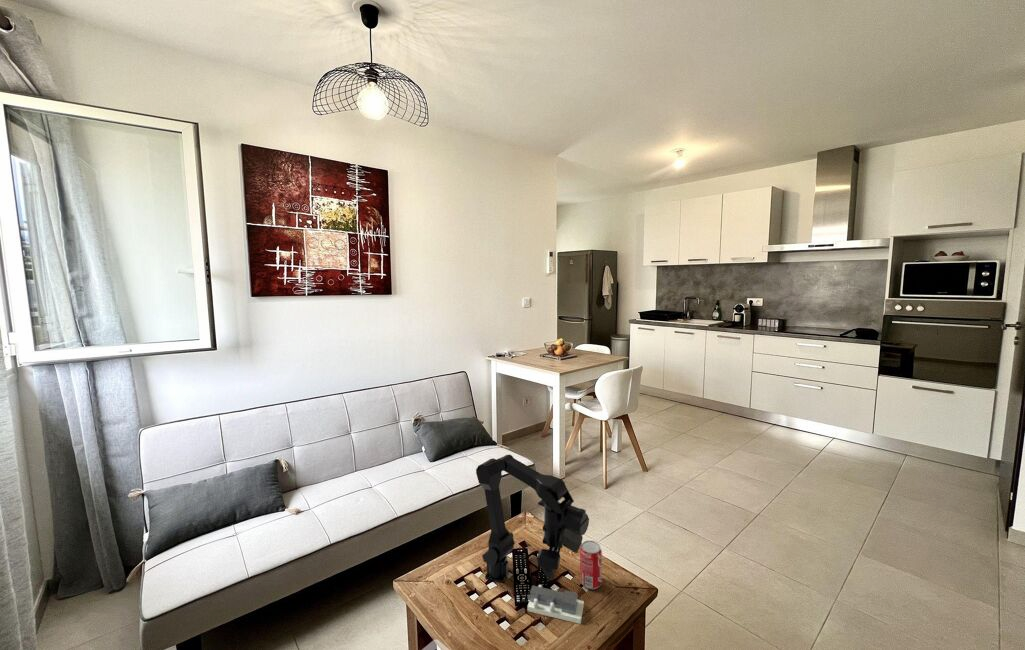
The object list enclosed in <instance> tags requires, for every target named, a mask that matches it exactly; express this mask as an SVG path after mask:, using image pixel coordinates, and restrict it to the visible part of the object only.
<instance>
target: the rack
mask: <svg viewBox="0 0 1025 650" xmlns="http://www.w3.org/2000/svg"><path fill="white" fill-rule="evenodd" d="M538 587H542V588H543V585H542V584H538ZM553 590H555V591H559V589H558V587H557V588H556V587H555V588H553ZM528 601H529V602H528V604H527V606H526V607H527V612H530V613H535V614H538V615H541V616H546V617H551V618H554V619H559V620H562V621H566V622H567V621H568V622H572V623H575V624H579V625H581V623H582V617H583V611H584V606H585V605H584V603H585V601H584V600H580V599H578V603H577V608H576V613H575V615H574V614H569V613H565V612H562V609H560V608H556V607H554V603H553V602H551V603H550V606H547V605H543V604H538V599H536V598H535V599H534V602H530V600H528Z"/></svg>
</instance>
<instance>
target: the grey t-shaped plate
mask: <svg viewBox="0 0 1025 650" xmlns="http://www.w3.org/2000/svg"><path fill="white" fill-rule="evenodd" d="M563 591H564V592H563ZM563 591H560V590H558V591H555V590H554V589H550V588H545V587H543V586H542V587H539V586H537V585H531V588H530V590H529V601H530V602H534V599H535V598H536V599H538V604H543V605H547V606H550V603H551V602H553V603H554V607H556V608H560V609H562V612H565V613H569V614H574V615H575V613H576V608H577V603H578V600H579V599H578V597H579V596H578V595H579V593H578V592H575V591H571V590H570V591H569V590H566V589H564V590H563Z"/></svg>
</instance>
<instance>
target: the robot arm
mask: <svg viewBox="0 0 1025 650" xmlns="http://www.w3.org/2000/svg"><path fill="white" fill-rule="evenodd" d="M502 472H505V473H507V474H509V475H510V476H512V477H513V478H515V479H517V480H519V482H522V483H524V484H525V485H527V486H528V487H530V488H531V489H532V490H534V491H535V493H536V495H537V496H538V498H540V499H541V500H539V501H538V502H537V505H538V506H541V507H543V508H544V510H543V512H544V516H543V517H544V518H543V520H544V522H543V526H542V531H543V532H544V533H543V539H542V544H544V545H546V546H547V547H548V549H545V548H541V549H540V550H539V551H538V554H537V556H536V565H537V566H538V567H540V568H541V569H542V571H543V572H544V574H545V576H546V578H547V580H548V581H553V577H554V572H555V570H558V569H559V566H560V562H561V554H560V553H561V550H562V549H563V547H565V548H566V549H568V550H570V551H571V552H573V554H574V553H575V554H577V553H579V551H580V548H581V545H582V543H583V538H584V537H583V536H584V535H585V534H586V533H587V530H588V528H589V524H590V517H589V515H588V514H587V513H586V512H587V511H586V509H584V508H579V507H577V506H574V505H573V503H575V500H574V499H573V497H572V495H571V493H570V491H569V489H568V487H567V486H566V482H565V481H564V480H563V479H562V478H559V477H557V476H555V475H552V474H551V475H549V474H542V473H541V472H538V471H537V470H535V469H533V468H532V467H530V466H528V465H526V464H525V463H523V462H522V461H519V460H518V459H516V458H514V456H513V455H512V454H506V455H504V456H501V457H499V458H489V459H488V460H486V461H484V462H483V463H481V464H479V465H477V467H476V469H475V474H476V478H477V481H478V484H479V485H480V486H481V487H482V489H483V490H484V494H485V501H486V502H485V503H486V509H487V513H488V521H489V526H490V534H489V538H488V543H487V544H488V545H487V546H488V547H487V548H488V550H486V551H485V552H484V553H483V554H482V556H481V557H482V560H483V562H484V563H485V564H486V573H485V576H484V578H485V579H487V580H491V581H493V582H494V581H495V582H499V583H503V582H504V581H505V579H506V577H508V574H509V560H508V555H509V554H510V553H511V552H512V551H513V549H514V547H515V544H516V542H515V540H514V533H513V532H510V531H509V530H508V529H507V528H506V522H505V516H504V509H503V503H502V497H501V490H500V484H501V480H502V476H503V475H502ZM561 499H563V500H562V501H560V500H561Z"/></svg>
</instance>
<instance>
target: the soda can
mask: <svg viewBox="0 0 1025 650" xmlns="http://www.w3.org/2000/svg"><path fill="white" fill-rule="evenodd" d="M579 581H580V583H581V585H582V586H583V587H584V588H586V589H587V590H591V591H592V590H597V589H598V588H600V587H601V586H602V584H603V583H602V582H603V550H602V549H601V545H600V544H599V543H598V542H596V541H594V540H585V541H582V543H581V546H580V548H579Z"/></svg>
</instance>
